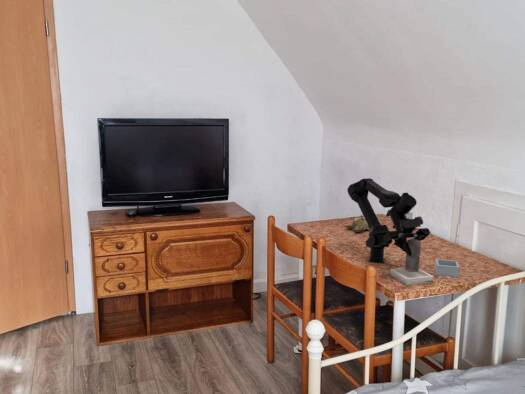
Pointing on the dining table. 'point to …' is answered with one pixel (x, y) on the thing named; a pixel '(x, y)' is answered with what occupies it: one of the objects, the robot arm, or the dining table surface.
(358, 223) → the ceramic sculpture
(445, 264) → the square frame
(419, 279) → the tray
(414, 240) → the dark grey pillar
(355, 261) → the dining table surface
